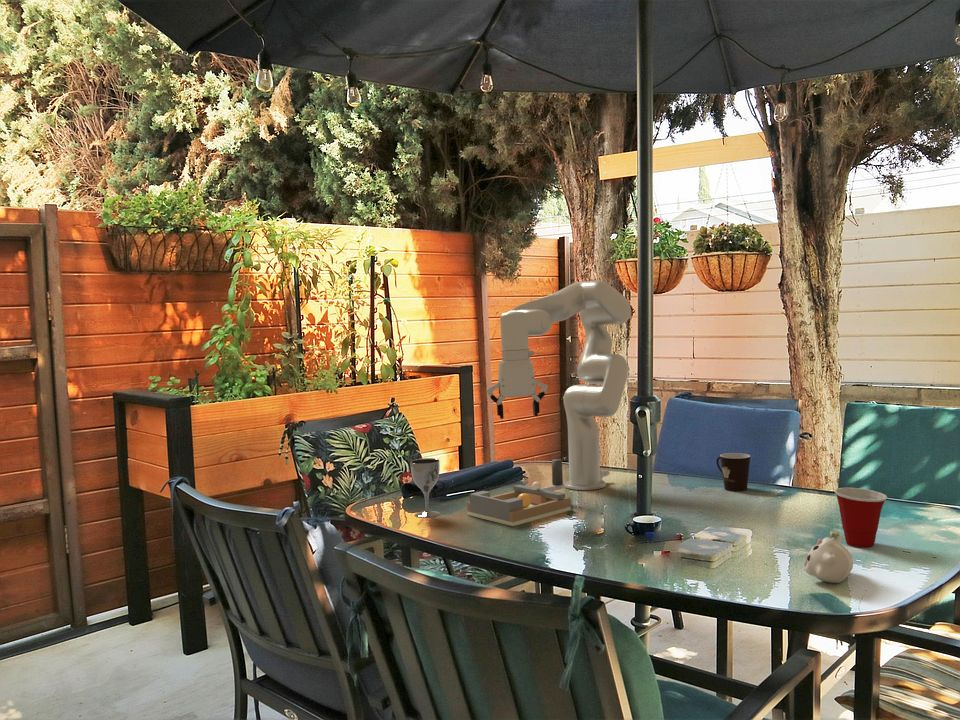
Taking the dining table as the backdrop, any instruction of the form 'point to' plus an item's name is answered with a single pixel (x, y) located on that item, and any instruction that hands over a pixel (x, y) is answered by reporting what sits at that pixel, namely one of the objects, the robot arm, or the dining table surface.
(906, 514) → the dining table surface
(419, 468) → the wine glass
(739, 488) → the coffee mug
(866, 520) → the plastic cup
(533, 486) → the kicker rod
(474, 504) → the foosball lane
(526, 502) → the ball
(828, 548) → the white bulbous lump
